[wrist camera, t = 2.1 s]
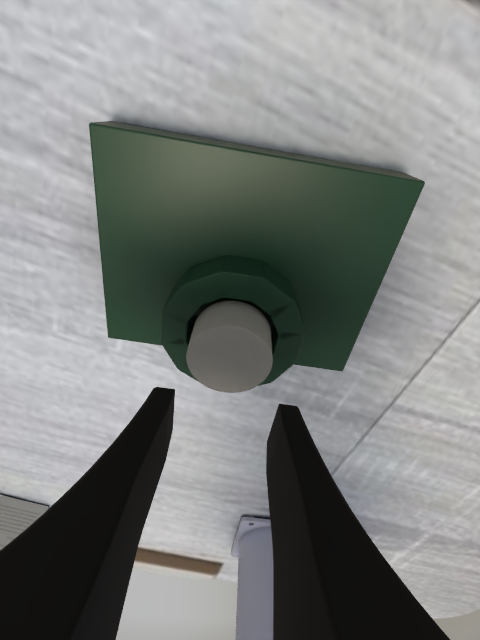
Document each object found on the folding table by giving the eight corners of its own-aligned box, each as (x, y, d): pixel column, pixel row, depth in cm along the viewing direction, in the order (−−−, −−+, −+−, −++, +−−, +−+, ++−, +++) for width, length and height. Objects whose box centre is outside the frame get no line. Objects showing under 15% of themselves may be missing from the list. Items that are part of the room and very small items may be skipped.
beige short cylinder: (278, 306, 14) (281, 333, 12) (262, 367, 16) (263, 398, 14) (197, 294, 14) (188, 319, 12) (191, 357, 16) (183, 387, 14)
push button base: (404, 172, 14) (449, 191, 11) (331, 357, 20) (346, 405, 17) (110, 120, 14) (63, 123, 10) (122, 326, 20) (95, 371, 16)
